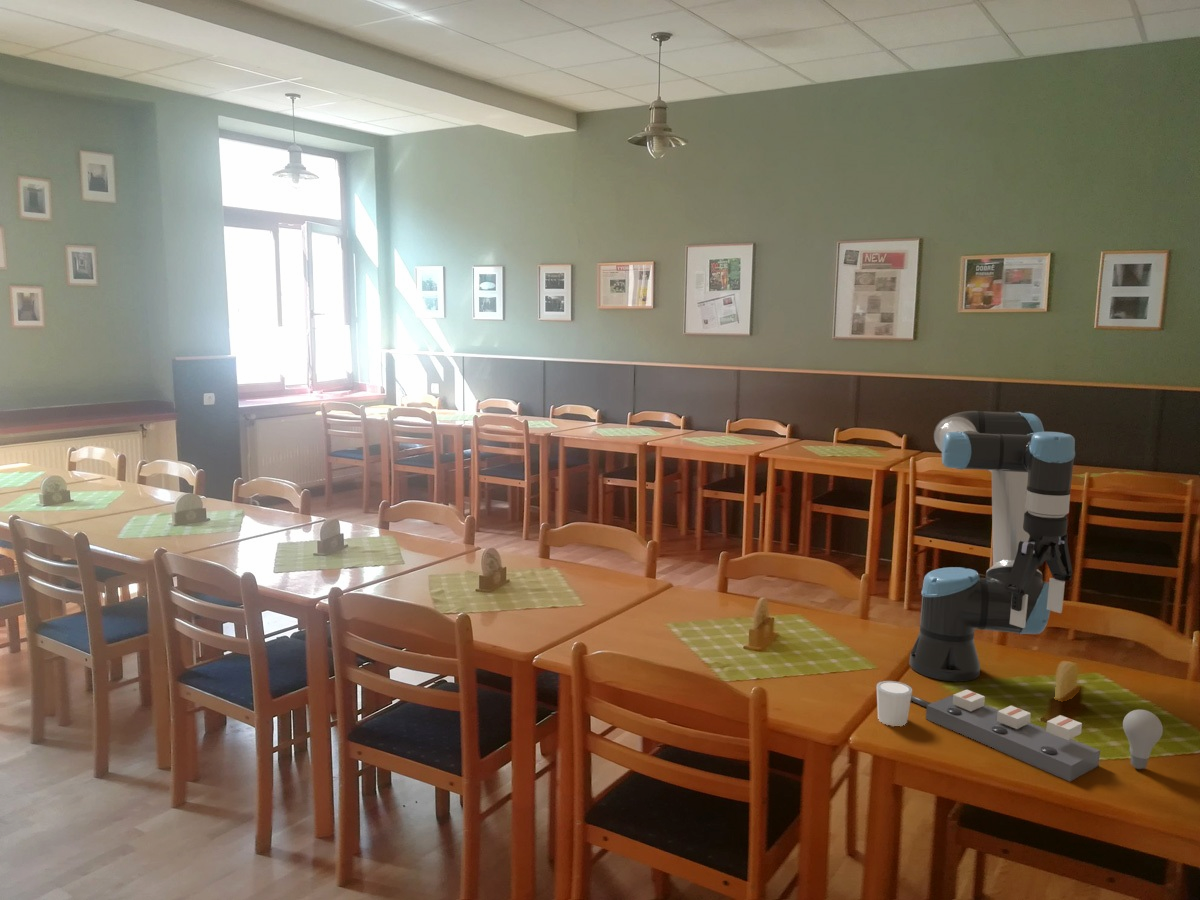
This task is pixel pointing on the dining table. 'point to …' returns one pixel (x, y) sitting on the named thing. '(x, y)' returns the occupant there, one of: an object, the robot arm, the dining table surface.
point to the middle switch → (1013, 717)
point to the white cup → (893, 702)
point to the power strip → (1015, 738)
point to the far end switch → (1064, 727)
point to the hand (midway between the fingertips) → (1036, 618)
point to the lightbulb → (1141, 735)
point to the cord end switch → (968, 700)
